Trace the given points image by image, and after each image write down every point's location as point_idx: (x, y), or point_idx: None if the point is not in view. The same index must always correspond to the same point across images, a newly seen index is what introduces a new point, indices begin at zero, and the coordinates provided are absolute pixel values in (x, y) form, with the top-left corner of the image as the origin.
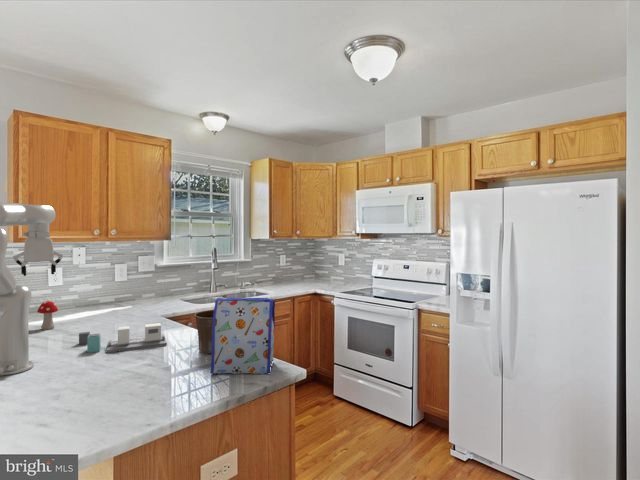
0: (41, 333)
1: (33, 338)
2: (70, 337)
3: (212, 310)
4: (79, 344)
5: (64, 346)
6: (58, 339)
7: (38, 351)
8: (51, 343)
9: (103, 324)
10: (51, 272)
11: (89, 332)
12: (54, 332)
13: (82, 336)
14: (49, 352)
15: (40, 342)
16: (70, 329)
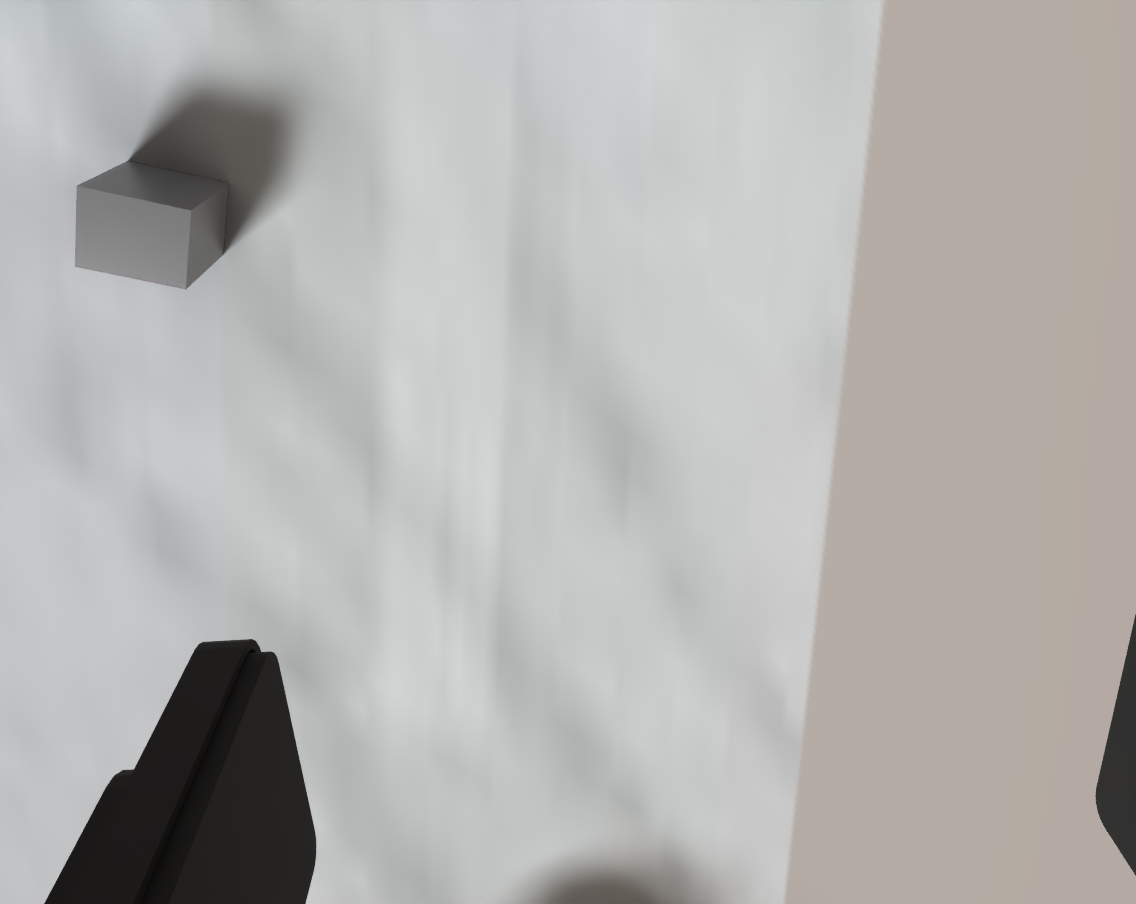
0: (540, 844)
1: (606, 714)
2: (314, 560)
3: None
4: (223, 183)
5: (366, 221)
6: (416, 550)
7: (596, 181)
8: (477, 433)
9: (40, 875)
10: (288, 809)
11: (76, 229)
12: (443, 821)
13: (163, 195)
14: (505, 54)
15: (562, 535)
16: (318, 851)
